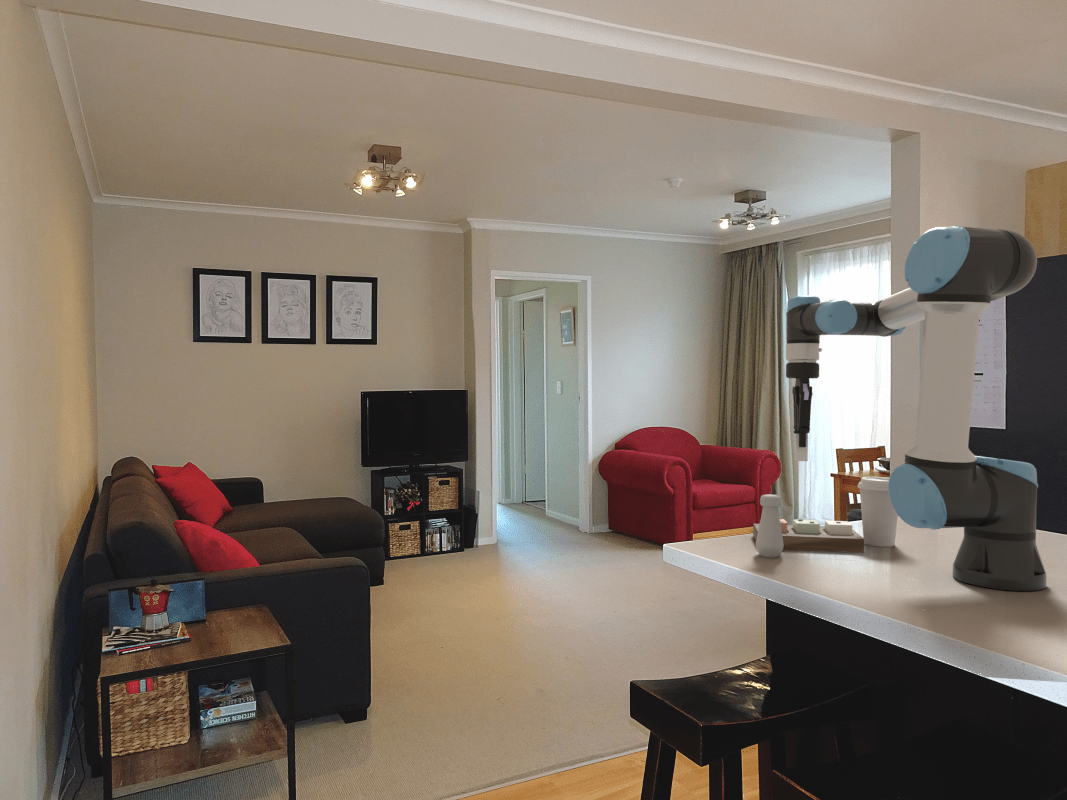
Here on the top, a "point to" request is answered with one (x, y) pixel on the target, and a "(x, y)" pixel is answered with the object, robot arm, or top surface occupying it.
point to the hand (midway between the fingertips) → (801, 460)
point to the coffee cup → (877, 512)
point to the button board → (819, 540)
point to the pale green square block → (806, 526)
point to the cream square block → (838, 528)
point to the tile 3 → (783, 525)
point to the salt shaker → (770, 528)
